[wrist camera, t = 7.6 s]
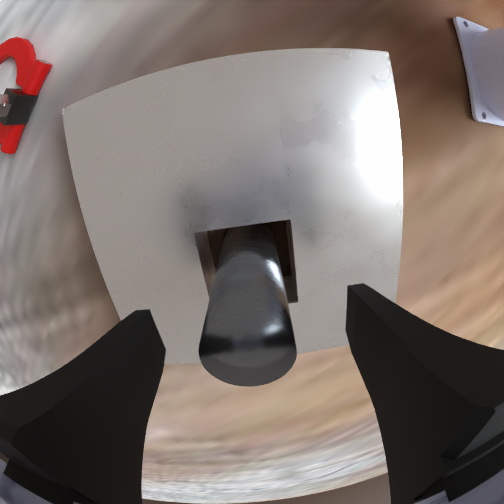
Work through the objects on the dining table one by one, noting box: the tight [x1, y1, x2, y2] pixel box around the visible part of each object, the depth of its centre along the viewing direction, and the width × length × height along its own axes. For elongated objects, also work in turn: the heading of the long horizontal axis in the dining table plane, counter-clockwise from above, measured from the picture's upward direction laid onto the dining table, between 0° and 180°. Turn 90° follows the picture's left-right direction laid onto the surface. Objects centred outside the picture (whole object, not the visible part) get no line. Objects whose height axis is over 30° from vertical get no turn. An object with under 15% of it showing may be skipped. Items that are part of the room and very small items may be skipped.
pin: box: [198, 223, 297, 386], centre depth 12 cm, size 3×3×9 cm
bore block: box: [62, 48, 403, 364], centre depth 14 cm, size 16×16×3 cm
